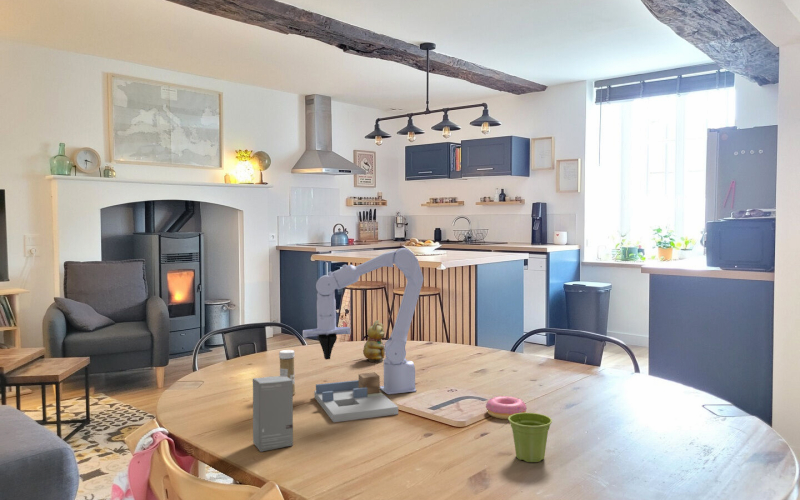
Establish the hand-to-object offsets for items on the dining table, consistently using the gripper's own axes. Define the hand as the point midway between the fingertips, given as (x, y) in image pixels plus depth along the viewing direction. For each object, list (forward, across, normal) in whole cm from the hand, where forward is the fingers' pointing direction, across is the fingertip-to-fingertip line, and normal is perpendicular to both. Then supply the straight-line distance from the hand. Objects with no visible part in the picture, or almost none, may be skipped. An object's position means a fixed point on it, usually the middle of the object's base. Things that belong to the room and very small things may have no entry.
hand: (327, 358), depth 186 cm
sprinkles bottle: (+11, -12, +2) cm, 16 cm away
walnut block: (+8, +10, -11) cm, 17 cm away
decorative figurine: (+11, +26, +35) cm, 45 cm away
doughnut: (+11, +40, -39) cm, 57 cm away
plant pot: (+11, +30, -67) cm, 74 cm away
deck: (+10, +4, -16) cm, 19 cm away
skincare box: (+11, -22, -38) cm, 45 cm away
